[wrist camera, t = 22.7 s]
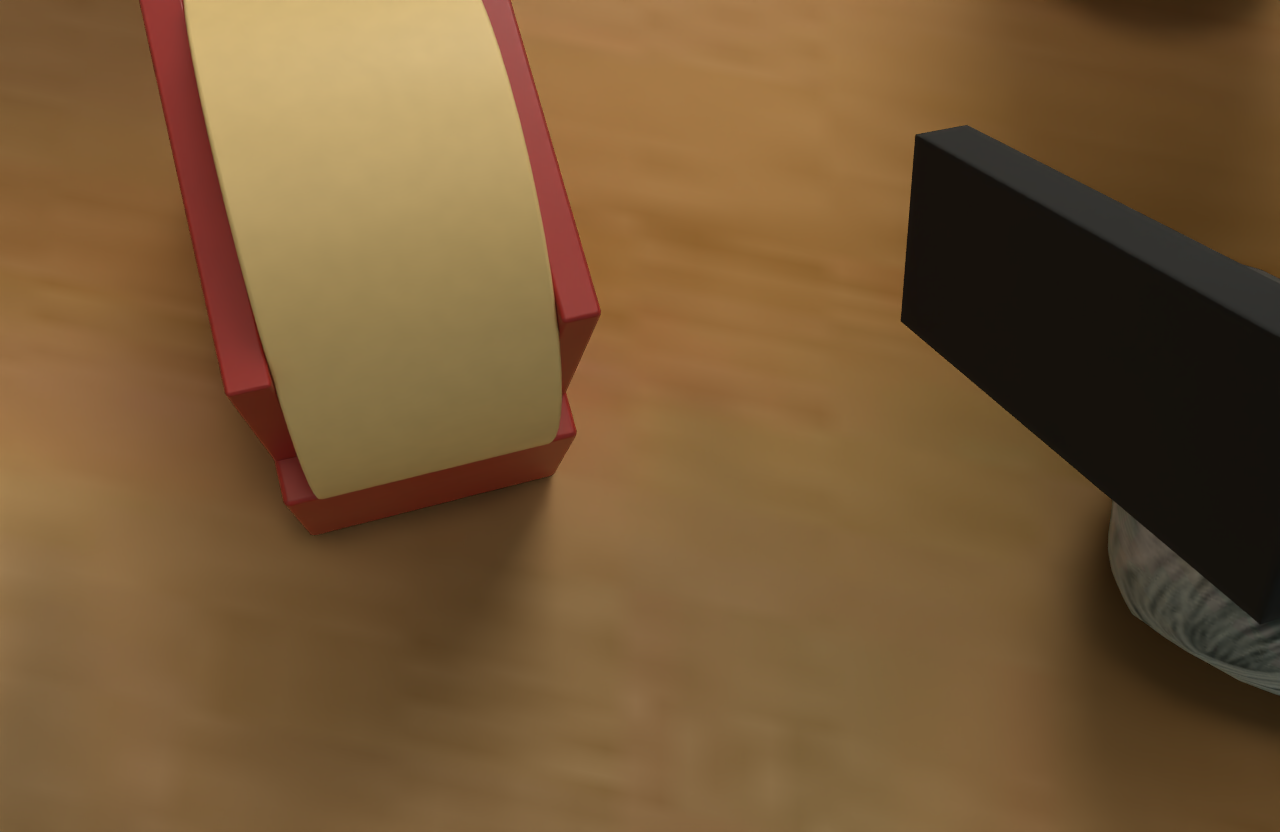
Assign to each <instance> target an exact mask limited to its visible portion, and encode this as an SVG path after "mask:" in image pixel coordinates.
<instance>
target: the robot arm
mask: <svg viewBox="0 0 1280 832" xmlns="http://www.w3.org/2000/svg"><path fill="white" fill-rule="evenodd" d="M901 322H902V323H903V324H905V325H906V326H907V327H908V328H909V329H911V330H912V331H913V332H914V333H915V334H916V335H918V336H919V337H920V338H921V339H922V340H924V341H925V342H926V343H927V344H928V345H930V346H931V347H932V348H933V349H934V350H935V351H937V352H938V353H939V354H940V355H941V356H943V357H944V358H945V359H946V360H947V361H948V362H950V363H951V364H952V365H953V366H954V367H956V368H957V369H958V370H959V371H960V372H961V373H963V374H964V375H965V376H966V377H967V378H969V379H970V380H971V381H972V382H973V383H975V384H976V385H977V386H978V387H979V388H980V389H982V390H983V391H984V392H985V393H986V394H988V395H989V396H990V397H991V398H992V399H993V400H995V401H996V402H997V403H998V404H999V405H1001V406H1002V407H1003V408H1004V409H1005V410H1006V411H1008V412H1009V413H1010V414H1011V415H1012V416H1014V417H1015V418H1016V419H1017V420H1018V421H1020V422H1021V423H1022V424H1023V425H1024V426H1025V427H1027V428H1028V429H1029V430H1030V431H1031V432H1033V433H1034V434H1035V435H1036V436H1037V437H1038V438H1040V439H1041V440H1042V441H1043V442H1044V443H1046V444H1047V445H1048V446H1049V447H1050V448H1051V449H1053V450H1054V451H1055V452H1056V453H1057V454H1059V455H1060V456H1061V457H1062V458H1063V459H1065V460H1066V461H1067V462H1068V463H1069V464H1070V465H1072V466H1073V467H1074V468H1075V469H1076V470H1078V471H1079V472H1080V473H1081V474H1082V475H1083V476H1085V477H1086V478H1087V479H1088V480H1089V481H1091V482H1092V483H1093V484H1094V485H1095V486H1096V487H1098V488H1099V489H1100V490H1101V491H1102V492H1104V493H1105V494H1106V495H1107V496H1108V497H1110V498H1111V499H1112V500H1113V501H1114V502H1115V503H1117V504H1118V505H1119V506H1120V507H1121V508H1123V509H1124V510H1125V511H1126V512H1127V513H1128V514H1130V515H1131V516H1132V517H1133V518H1134V519H1136V520H1137V521H1138V522H1139V523H1140V524H1141V525H1143V526H1144V527H1145V528H1146V529H1147V530H1149V531H1150V532H1151V533H1152V534H1153V535H1155V536H1156V537H1157V538H1158V539H1159V540H1160V541H1162V542H1163V543H1164V544H1165V545H1166V546H1168V547H1169V548H1170V549H1171V550H1172V551H1173V552H1175V553H1176V554H1177V555H1178V556H1179V557H1181V558H1182V559H1183V560H1184V561H1185V562H1186V563H1188V564H1189V565H1190V566H1191V567H1192V568H1194V569H1195V570H1196V571H1197V572H1198V573H1200V574H1201V575H1202V576H1203V577H1204V578H1205V579H1207V580H1208V581H1209V582H1210V583H1211V584H1213V585H1214V586H1215V587H1216V588H1217V589H1218V590H1220V591H1221V592H1222V593H1223V594H1224V595H1226V596H1227V597H1228V598H1229V599H1230V600H1231V601H1233V602H1234V603H1235V604H1236V605H1237V606H1239V607H1240V608H1241V609H1242V610H1243V611H1244V612H1246V613H1247V614H1248V615H1249V616H1250V617H1252V618H1253V619H1254V620H1255V621H1256V622H1258V623H1259V624H1260V625H1261V624H1264V623H1267V622H1270V621H1273V620H1276V619H1279V618H1280V279H1279V278H1277V277H1275V276H1273V275H1271V274H1269V273H1267V272H1265V271H1263V270H1260V269H1256V268H1253V267H1249V266H1246V265H1242V264H1240V263H1238V262H1236V261H1234V260H1232V259H1230V258H1228V257H1226V256H1224V255H1222V254H1220V253H1218V252H1216V251H1214V250H1212V249H1210V248H1208V247H1206V246H1204V245H1202V244H1201V243H1199V242H1197V241H1195V240H1193V239H1191V238H1189V237H1187V236H1185V235H1183V234H1181V233H1179V232H1177V231H1175V230H1173V229H1171V228H1169V227H1167V226H1165V225H1163V224H1161V223H1159V222H1157V221H1155V220H1153V219H1151V218H1149V217H1147V216H1145V215H1143V214H1141V213H1139V212H1137V211H1135V210H1133V209H1131V208H1129V207H1128V206H1126V205H1124V204H1122V203H1120V202H1118V201H1116V200H1114V199H1112V198H1110V197H1108V196H1106V195H1104V194H1102V193H1100V192H1098V191H1096V190H1094V189H1092V188H1090V187H1088V186H1086V185H1084V184H1082V183H1080V182H1078V181H1076V180H1074V179H1072V178H1070V177H1068V176H1066V175H1064V174H1062V173H1060V172H1058V171H1056V170H1055V169H1053V168H1051V167H1049V166H1047V165H1045V164H1043V163H1041V162H1039V161H1037V160H1035V159H1033V158H1031V157H1029V156H1027V155H1025V154H1023V153H1021V152H1019V151H1017V150H1015V149H1013V148H1011V147H1009V146H1007V145H1005V144H1003V143H1001V142H999V141H997V140H995V139H993V138H991V137H989V136H987V135H985V134H983V133H981V132H980V131H978V130H976V129H974V128H972V127H970V126H968V125H965V126H959V127H954V128H948V129H943V130H938V131H932V132H927V133H921V134H916V135H915V147H914V159H913V172H912V185H911V197H910V210H909V223H908V236H907V248H906V261H905V274H904V286H903V299H902V312H901Z"/></svg>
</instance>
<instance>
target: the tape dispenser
mask: <svg viewBox="0 0 1280 832" xmlns="http://www.w3.org/2000/svg"><path fill="white" fill-rule="evenodd" d="M139 3H140V7H141V12H142V16H143V21H144V25H145V30H146V35H147V39H148V44H149V48H150V53H151V57H152V62H153V67H154V71H155V76H156V80H157V85H158V89H159V94H160V99H161V103H162V108H163V112H164V117H165V121H166V126H167V131H168V135H169V140H170V144H171V149H172V153H173V158H174V163H175V167H176V172H177V176H178V181H179V185H180V190H181V195H182V199H183V204H184V208H185V213H186V217H187V222H188V227H189V231H190V236H191V240H192V245H193V249H194V254H195V259H196V263H197V268H198V272H199V277H200V281H201V286H202V291H203V295H204V300H205V304H206V309H207V314H208V318H209V323H210V327H211V332H212V336H213V341H214V346H215V350H216V355H217V359H218V364H219V368H220V373H221V378H222V382H223V387H224V391H225V394H226V396H227V397H228V398H229V400H230V401H231V402H232V404H233V405H234V406H235V408H236V409H237V411H238V412H239V413H240V415H241V416H242V417H243V419H244V420H245V421H246V423H247V424H248V425H249V427H250V428H251V429H252V431H253V432H254V433H255V435H256V436H257V438H258V439H259V440H260V442H261V443H262V444H263V446H264V447H265V448H266V450H267V451H268V452H269V454H270V455H271V456H272V458H273V459H274V462H275V466H276V471H277V475H278V480H279V484H280V489H281V493H282V497H283V502H284V504H285V505H286V506H287V507H288V509H289V510H290V511H291V512H292V513H293V514H294V516H295V517H296V518H297V519H298V520H299V521H300V522H301V524H302V525H303V526H304V527H305V528H306V529H307V530H308V532H309V533H310V534H311V535H318V534H322V533H326V532H330V531H334V530H338V529H342V528H346V527H350V526H354V525H358V524H362V523H366V522H370V521H373V520H377V519H381V518H385V517H389V516H393V515H397V514H401V513H405V512H409V511H413V510H417V509H421V508H425V507H429V506H433V505H437V504H441V503H445V502H449V501H453V500H457V499H461V498H464V497H468V496H472V495H476V494H480V493H484V492H488V491H492V490H496V489H500V488H504V487H508V486H512V485H516V484H520V483H524V482H528V481H532V480H536V479H540V478H544V477H548V476H551V475H553V474H554V473H555V471H556V469H557V468H558V466H559V464H560V462H561V461H562V459H563V457H564V455H565V454H566V452H567V450H568V448H569V447H570V445H571V443H572V441H573V440H574V438H575V436H576V432H577V431H576V427H575V423H574V420H573V416H572V413H571V409H570V406H569V402H568V398H567V395H566V390H567V388H568V386H569V384H570V381H571V379H572V377H573V375H574V372H575V370H576V368H577V366H578V363H579V361H580V359H581V357H582V355H583V352H584V350H585V348H586V346H587V343H588V341H589V339H590V337H591V335H592V332H593V330H594V328H595V326H596V323H597V321H598V319H599V317H600V314H601V310H600V307H599V303H598V300H597V296H596V293H595V289H594V286H593V282H592V279H591V276H590V272H589V269H588V265H587V262H586V258H585V255H584V251H583V248H582V245H581V241H580V238H579V234H578V231H577V227H576V224H575V220H574V217H573V214H572V210H571V207H570V203H569V200H568V196H567V193H566V189H565V186H564V183H563V179H562V176H561V172H560V169H559V165H558V162H557V158H556V155H555V152H554V148H553V145H552V141H551V138H550V134H549V131H548V127H547V124H546V121H545V117H544V114H543V110H542V107H541V103H540V100H539V96H538V93H537V90H536V86H535V83H534V79H533V76H532V72H531V69H530V65H529V62H528V59H527V55H526V52H525V48H524V45H523V41H522V38H521V34H520V31H519V28H518V24H517V21H516V17H515V14H514V10H513V7H512V3H511V0H139Z"/></svg>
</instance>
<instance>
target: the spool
mask: <svg viewBox="0 0 1280 832" xmlns="http://www.w3.org/2000/svg"><path fill="white" fill-rule="evenodd" d="M1108 553H1109V559H1110V564H1111V570H1112V573H1113V575H1114V578H1115V580H1116V583H1117V585H1118V587H1119V590H1120V592H1121V594H1122V596H1123V598H1124V600H1125V602H1126V604H1127V606H1128V608H1129V609H1130V611H1131V613H1132V614H1133V615H1134V616H1136V617H1137V618H1139V619H1140V620H1142V621H1143V622H1145V623H1146V624H1147V625H1149V626H1150V627H1151V628H1153V629H1154V630H1155V631H1157V632H1158V633H1159V634H1161V635H1162V636H1163V637H1165V638H1166V639H1168V640H1170V641H1171V642H1173V643H1174V644H1176V645H1177V646H1179V647H1180V648H1182V649H1183V650H1185V651H1187V652H1189V653H1190V654H1192V655H1194V656H1196V657H1198V658H1199V659H1201V660H1203V661H1205V662H1207V663H1209V664H1210V665H1212V666H1214V667H1216V668H1218V669H1219V670H1221V671H1223V672H1225V673H1227V674H1228V675H1230V676H1232V677H1234V678H1235V679H1237V680H1239V681H1241V682H1244V683H1247V684H1249V685H1252V686H1255V687H1257V688H1260V689H1263V690H1265V691H1268V692H1271V693H1273V694H1276V695H1280V618H1279V619H1276V620H1273V621H1270V622H1267V623H1264V624H1261V625H1260V624H1259V623H1258V622H1256V621H1255V620H1254V619H1253V618H1252V617H1250V616H1249V615H1248V614H1247V613H1246V612H1244V611H1243V610H1242V609H1241V608H1240V607H1239V606H1237V605H1236V604H1235V603H1234V602H1233V601H1231V600H1230V599H1229V598H1228V597H1227V596H1226V595H1224V594H1223V593H1222V592H1221V591H1220V590H1218V589H1217V588H1216V587H1215V586H1214V585H1213V584H1211V583H1210V582H1209V581H1208V580H1207V579H1205V578H1204V577H1203V576H1202V575H1201V574H1200V573H1198V572H1197V571H1196V570H1195V569H1194V568H1192V567H1191V566H1190V565H1189V564H1188V563H1186V562H1185V561H1184V560H1183V559H1182V558H1181V557H1179V556H1178V555H1177V554H1176V553H1175V552H1173V551H1172V550H1171V549H1170V548H1169V547H1168V546H1166V545H1165V544H1164V543H1163V542H1162V541H1160V540H1159V539H1158V538H1157V537H1156V536H1155V535H1153V534H1152V533H1151V532H1150V531H1149V530H1147V529H1146V528H1145V527H1144V526H1143V525H1141V524H1140V523H1139V522H1138V521H1137V520H1136V519H1134V518H1133V517H1132V516H1131V515H1130V514H1128V513H1127V512H1126V511H1125V510H1124V509H1123V508H1121V507H1120V506H1119V505H1118V504H1117V503H1115V502H1114V501H1112V509H1111V517H1110V525H1109V532H1108Z"/></svg>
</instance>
